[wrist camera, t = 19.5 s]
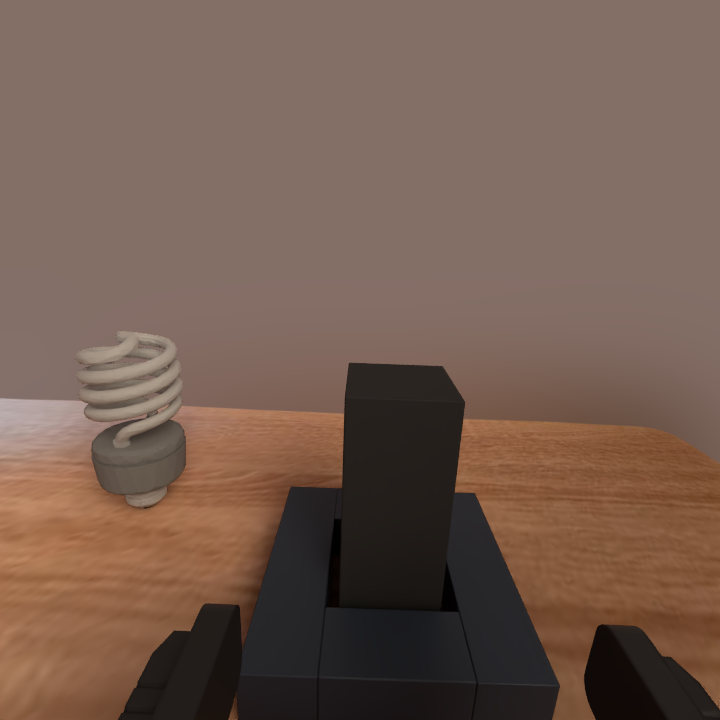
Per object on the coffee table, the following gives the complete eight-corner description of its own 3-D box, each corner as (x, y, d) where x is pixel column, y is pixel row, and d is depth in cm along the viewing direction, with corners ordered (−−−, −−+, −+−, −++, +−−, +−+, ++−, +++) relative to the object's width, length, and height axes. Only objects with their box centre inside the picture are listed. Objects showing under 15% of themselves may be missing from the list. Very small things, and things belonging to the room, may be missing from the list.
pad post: (423, 566, 23) (442, 365, 20) (437, 642, 19) (465, 401, 15) (342, 563, 23) (348, 362, 20) (337, 639, 19) (344, 396, 15)
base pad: (470, 525, 27) (474, 492, 26) (549, 734, 15) (560, 686, 15) (291, 519, 27) (290, 486, 26) (237, 723, 15) (234, 674, 15)
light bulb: (176, 533, 25) (156, 344, 22) (80, 535, 25) (44, 342, 21) (203, 481, 30) (190, 323, 27) (125, 482, 30) (102, 321, 27)
